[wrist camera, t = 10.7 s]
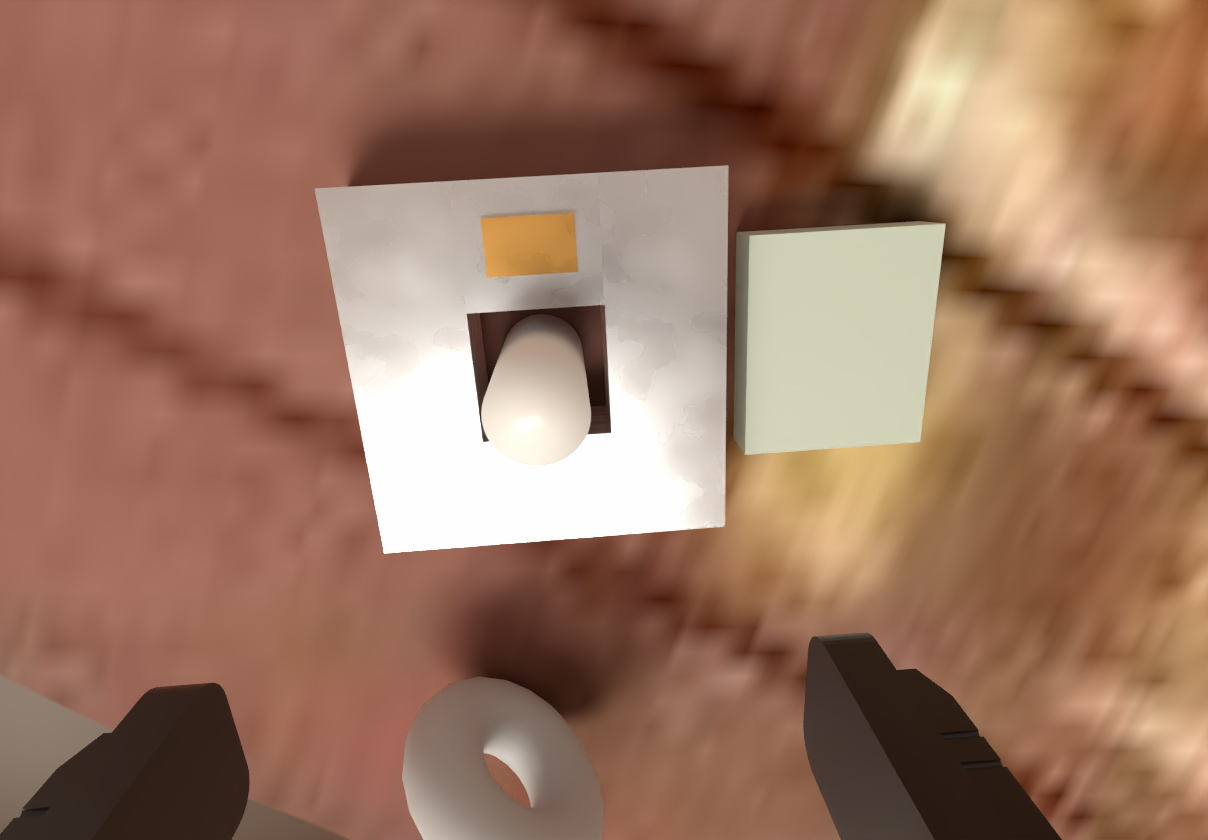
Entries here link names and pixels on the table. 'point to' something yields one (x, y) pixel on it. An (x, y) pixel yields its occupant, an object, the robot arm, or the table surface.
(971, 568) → the table surface
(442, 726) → the donut
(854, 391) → the square base plate
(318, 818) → the table surface
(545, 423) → the peg
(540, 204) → the flange
